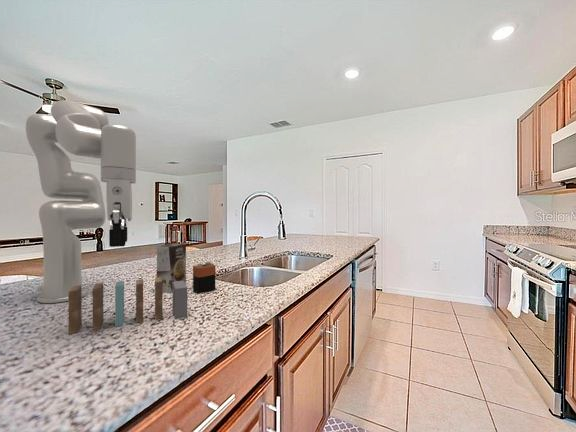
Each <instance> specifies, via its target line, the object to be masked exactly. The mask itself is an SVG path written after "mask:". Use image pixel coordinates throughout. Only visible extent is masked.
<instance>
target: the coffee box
mask: <svg viewBox="0 0 576 432" xmlns="http://www.w3.org/2000/svg"><path fill="white" fill-rule="evenodd" d="M159 277H161V278H162V281H163V292H165V293H172V282H175V281H184V282H185V284H186V285H187V243H169V244H162V245H157V246H156V278H159Z"/></svg>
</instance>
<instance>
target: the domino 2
mask: <svg viewBox="0 0 576 432" xmlns="http://www.w3.org/2000/svg"><path fill="white" fill-rule="evenodd" d="M91 293H92V331H98V330H99V331H101V330H102V327H103V324H104V282H103V283H102V282H101V283H95V284H94V286H93V287H92V291H91Z"/></svg>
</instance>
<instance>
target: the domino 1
mask: <svg viewBox="0 0 576 432" xmlns="http://www.w3.org/2000/svg"><path fill="white" fill-rule="evenodd" d="M68 298H69V301H68V335H76V334H78V333H79V331H80V329H81V327H82V323H83V322H82V321H83V320H82V319H83V318H82V317H83V316H82V314H83V313H82V310H83V309H82V306H83V305H82V301H83V300H82V298H83V297H82V293H81V285H79V286H73V287H72V288H71V289H70V290H69V291H68Z"/></svg>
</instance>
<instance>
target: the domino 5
mask: <svg viewBox="0 0 576 432" xmlns="http://www.w3.org/2000/svg"><path fill="white" fill-rule="evenodd" d="M163 295H164V294H163V281H162V278H161V277H159V278H157V277H155V278H154V317H155V321H158V320H163V319H164V317H163V316H164V315H163V311H164V310H163V308H164V307H163V297H164V296H163Z"/></svg>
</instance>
